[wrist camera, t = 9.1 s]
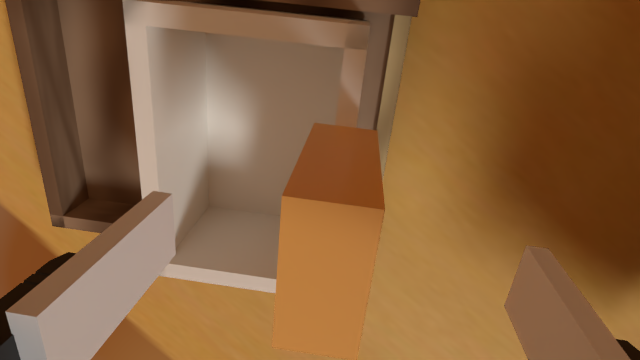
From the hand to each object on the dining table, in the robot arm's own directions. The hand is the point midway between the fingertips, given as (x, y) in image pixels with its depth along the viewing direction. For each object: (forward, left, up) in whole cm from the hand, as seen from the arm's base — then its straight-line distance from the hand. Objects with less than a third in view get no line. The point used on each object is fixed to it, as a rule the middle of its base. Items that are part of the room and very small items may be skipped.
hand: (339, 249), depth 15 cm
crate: (+5, 0, -14) cm, 14 cm away
